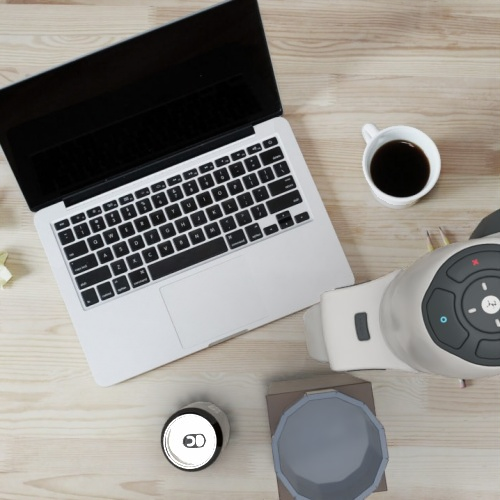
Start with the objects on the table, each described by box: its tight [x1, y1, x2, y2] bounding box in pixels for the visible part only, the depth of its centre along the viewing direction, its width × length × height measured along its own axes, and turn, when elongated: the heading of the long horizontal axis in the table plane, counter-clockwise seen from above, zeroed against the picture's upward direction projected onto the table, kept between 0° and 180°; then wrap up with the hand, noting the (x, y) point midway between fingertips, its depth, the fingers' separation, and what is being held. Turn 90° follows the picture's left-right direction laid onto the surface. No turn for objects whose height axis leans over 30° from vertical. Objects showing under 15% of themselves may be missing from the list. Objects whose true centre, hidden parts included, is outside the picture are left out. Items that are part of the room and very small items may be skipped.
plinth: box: [265, 372, 388, 500], centre depth 73 cm, size 9×9×27 cm
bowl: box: [270, 388, 390, 500], centre depth 57 cm, size 9×9×5 cm
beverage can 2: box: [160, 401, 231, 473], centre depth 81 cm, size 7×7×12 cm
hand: (407, 323), depth 69 cm, fingers closed on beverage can, 5 cm apart
